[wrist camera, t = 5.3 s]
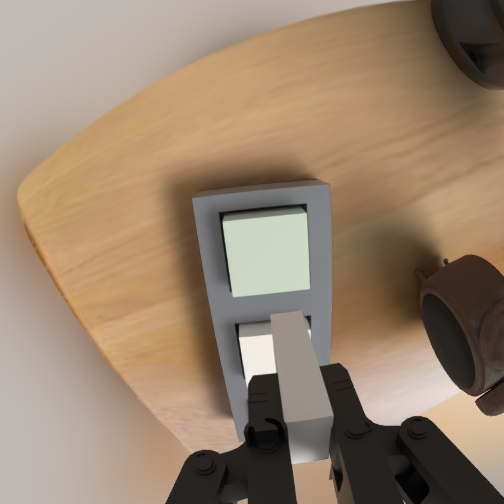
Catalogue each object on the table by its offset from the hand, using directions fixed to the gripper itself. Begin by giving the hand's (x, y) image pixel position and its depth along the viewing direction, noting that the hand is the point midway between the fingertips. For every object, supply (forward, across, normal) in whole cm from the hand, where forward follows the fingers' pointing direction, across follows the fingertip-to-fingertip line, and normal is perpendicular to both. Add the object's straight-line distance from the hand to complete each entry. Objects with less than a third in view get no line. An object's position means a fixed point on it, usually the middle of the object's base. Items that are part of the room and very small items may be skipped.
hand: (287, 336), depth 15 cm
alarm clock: (+16, +20, -9) cm, 27 cm away
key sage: (+13, 0, 0) cm, 13 cm away
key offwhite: (+13, 0, -10) cm, 17 cm away
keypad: (+16, 0, -10) cm, 19 cm away
